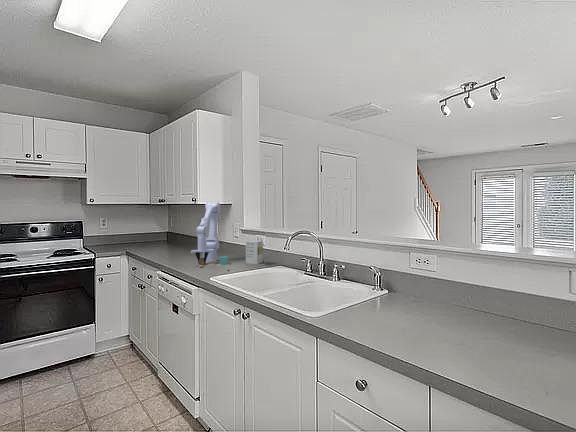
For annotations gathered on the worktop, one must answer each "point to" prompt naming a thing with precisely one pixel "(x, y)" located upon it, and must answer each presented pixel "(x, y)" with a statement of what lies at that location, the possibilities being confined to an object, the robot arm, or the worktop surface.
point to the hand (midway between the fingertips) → (202, 263)
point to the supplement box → (254, 252)
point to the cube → (223, 260)
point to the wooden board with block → (201, 263)
